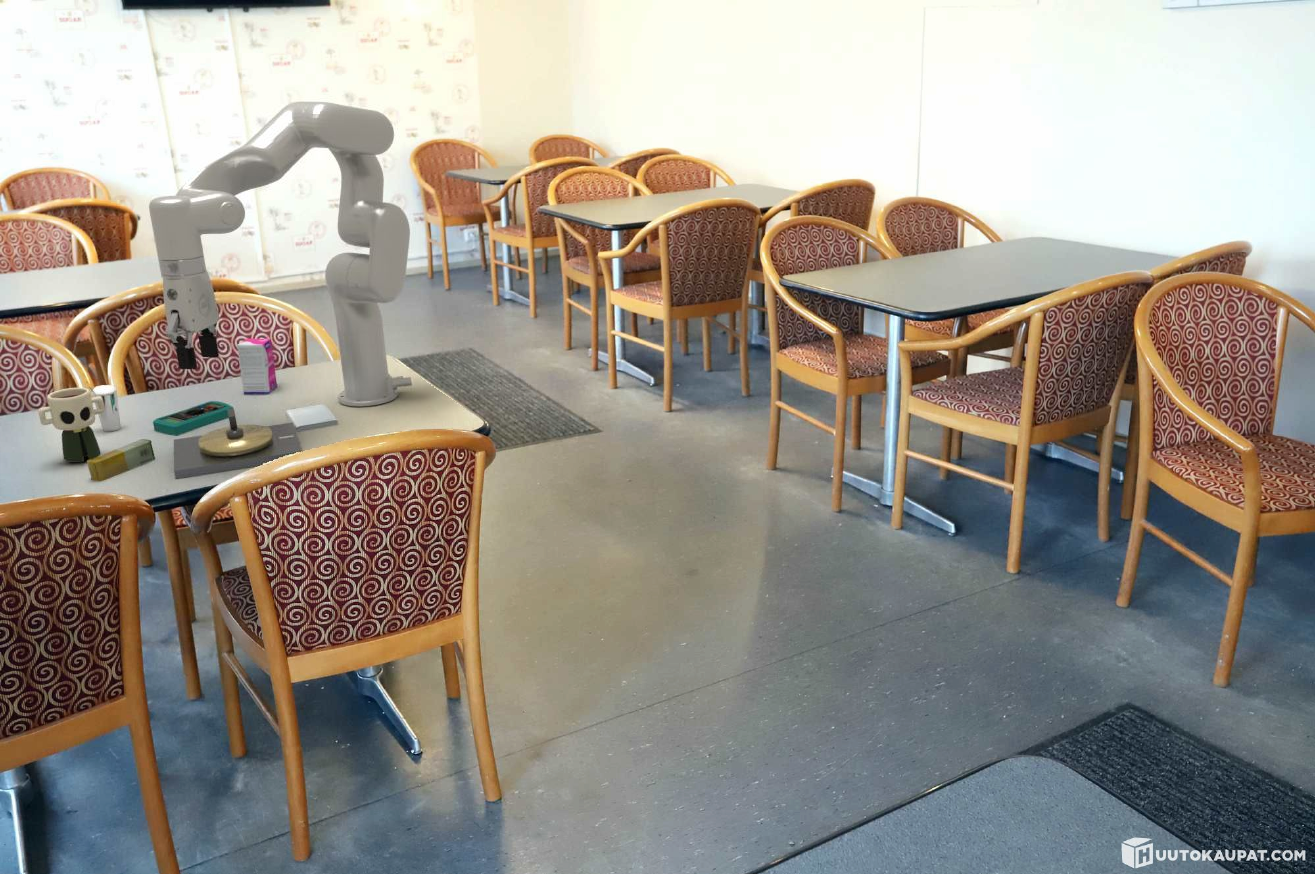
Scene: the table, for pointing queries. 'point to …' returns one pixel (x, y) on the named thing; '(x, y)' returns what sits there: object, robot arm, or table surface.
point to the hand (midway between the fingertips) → (199, 362)
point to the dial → (235, 439)
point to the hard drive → (311, 417)
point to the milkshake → (108, 407)
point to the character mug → (74, 421)
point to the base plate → (198, 463)
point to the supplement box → (257, 366)
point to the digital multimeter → (192, 418)
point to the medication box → (121, 460)
